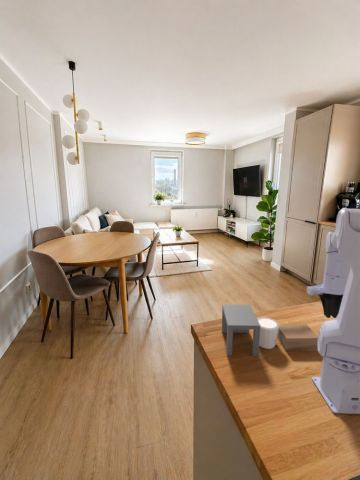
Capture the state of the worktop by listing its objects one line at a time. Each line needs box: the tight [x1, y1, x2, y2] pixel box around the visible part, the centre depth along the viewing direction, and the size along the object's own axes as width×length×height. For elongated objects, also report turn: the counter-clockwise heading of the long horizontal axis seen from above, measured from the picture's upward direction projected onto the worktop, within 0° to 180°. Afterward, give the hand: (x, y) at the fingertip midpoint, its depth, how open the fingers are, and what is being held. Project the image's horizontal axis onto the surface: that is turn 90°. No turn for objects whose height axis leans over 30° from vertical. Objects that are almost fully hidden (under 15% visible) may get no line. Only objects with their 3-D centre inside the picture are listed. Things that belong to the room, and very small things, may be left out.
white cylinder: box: [256, 316, 280, 350], centre depth 73 cm, size 7×7×7 cm
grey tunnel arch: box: [221, 304, 260, 357], centre depth 73 cm, size 12×9×10 cm
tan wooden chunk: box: [277, 323, 318, 352], centre depth 72 cm, size 7×10×4 cm
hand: (329, 316), depth 70 cm, fingers closed
